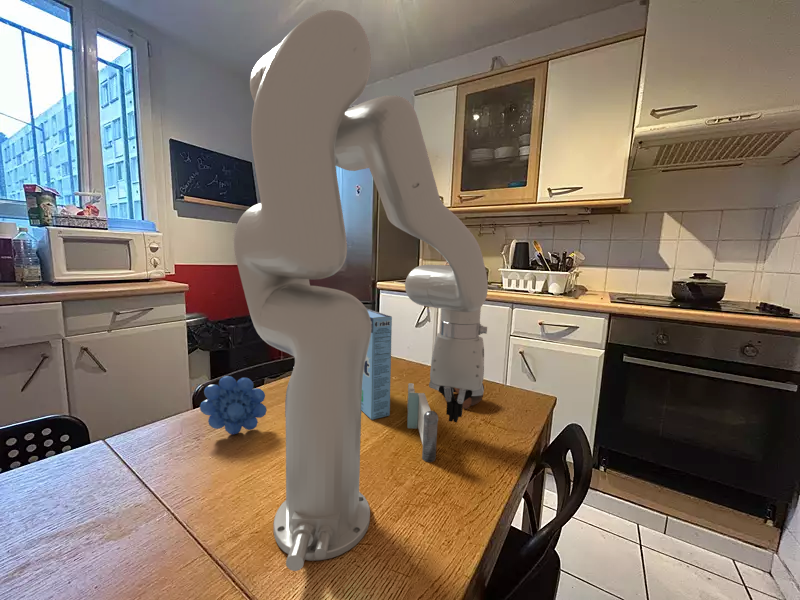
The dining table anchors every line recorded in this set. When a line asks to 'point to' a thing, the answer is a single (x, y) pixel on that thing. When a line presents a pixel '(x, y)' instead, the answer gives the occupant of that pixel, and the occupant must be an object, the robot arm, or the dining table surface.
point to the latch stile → (412, 410)
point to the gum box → (377, 368)
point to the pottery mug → (469, 399)
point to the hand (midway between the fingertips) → (453, 418)
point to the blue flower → (233, 404)
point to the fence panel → (410, 389)
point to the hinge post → (429, 436)
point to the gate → (422, 413)
